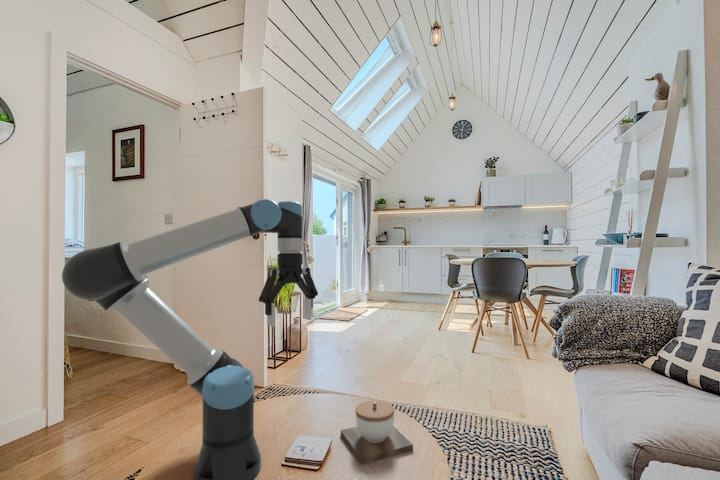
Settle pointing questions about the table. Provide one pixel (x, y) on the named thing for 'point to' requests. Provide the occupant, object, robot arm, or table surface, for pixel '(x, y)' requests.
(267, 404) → the table surface
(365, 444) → the brown metal plate
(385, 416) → the lidded jar
